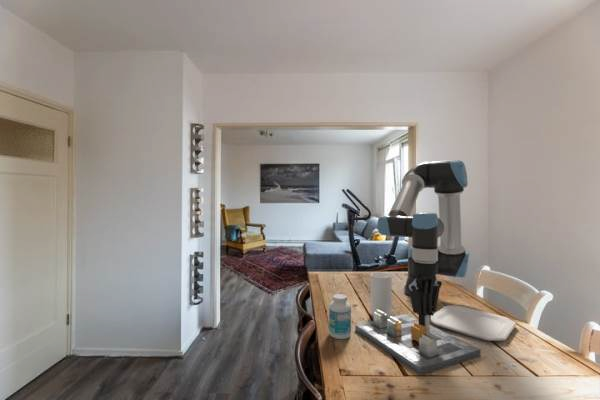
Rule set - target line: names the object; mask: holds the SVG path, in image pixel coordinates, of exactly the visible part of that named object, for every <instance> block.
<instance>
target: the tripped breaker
mask: <svg viewBox="0 0 600 400" xmlns="http://www.w3.org/2000/svg"><path fill="white" fill-rule="evenodd" d="M423 333H424V334H426V335H427V328H425V326H423V325H421V324H419V323H417V322H414V325H412V326H411V338H412V339H414V340H416V341H417V342H419V337H422V334H423Z"/></svg>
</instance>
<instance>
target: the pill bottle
mask: <svg viewBox="0 0 600 400" xmlns="http://www.w3.org/2000/svg"><path fill="white" fill-rule="evenodd" d="M332 299H333V300H332V301H331V302H330V303H329V305H328V307H329V308H328V315H329V316H328V318H329V320H328V325H329V326H328V334H329V336H330V337H331V338H334V339H337V340H346V339H349V338H350V337H351V334H352V306H351V304H350V303H349V302H348V296H347V295H345V294H343V293H342V294H341V293H336V294H334V295H333V296H332Z"/></svg>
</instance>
